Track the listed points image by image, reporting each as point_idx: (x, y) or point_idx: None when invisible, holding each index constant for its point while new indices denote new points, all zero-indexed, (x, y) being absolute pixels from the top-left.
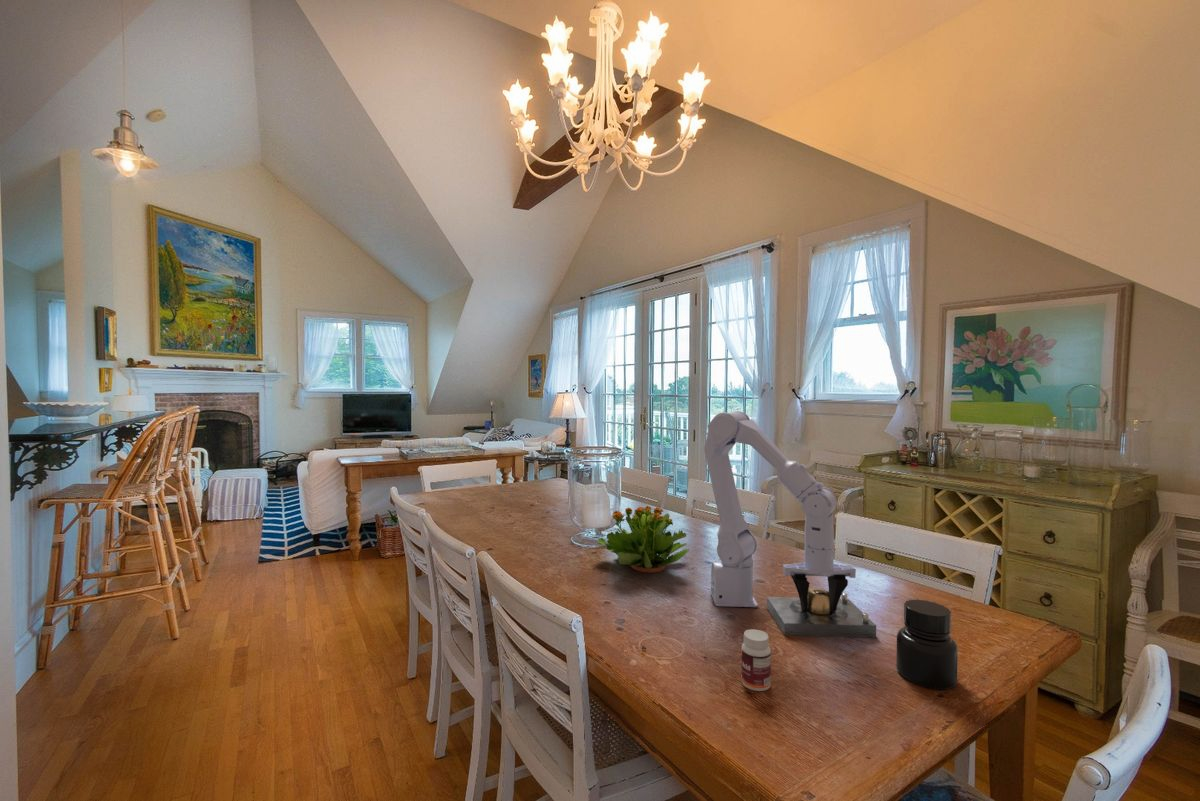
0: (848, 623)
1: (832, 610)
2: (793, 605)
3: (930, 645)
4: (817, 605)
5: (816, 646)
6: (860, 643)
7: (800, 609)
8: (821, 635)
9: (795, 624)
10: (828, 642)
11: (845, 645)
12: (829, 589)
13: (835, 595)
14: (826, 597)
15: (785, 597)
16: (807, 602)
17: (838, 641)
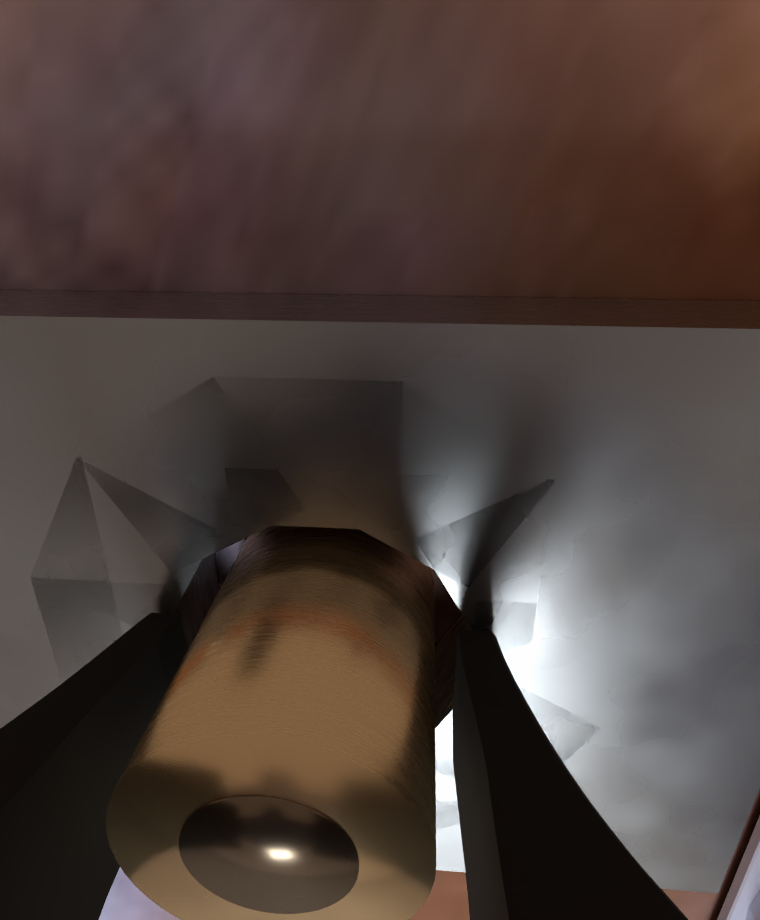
0: (68, 359)
1: (176, 624)
2: None
3: None
4: (357, 638)
5: (589, 19)
6: (52, 144)
7: None
8: (418, 298)
9: None
10: (398, 146)
11: (227, 78)
12: (90, 907)
13: (39, 759)
14: (198, 721)
15: None
16: (474, 699)
17: (276, 179)
